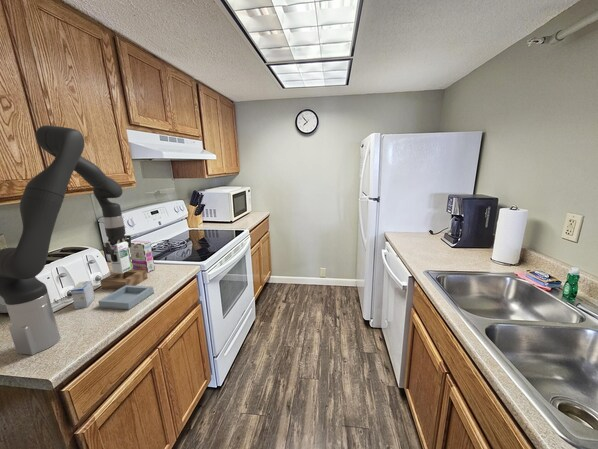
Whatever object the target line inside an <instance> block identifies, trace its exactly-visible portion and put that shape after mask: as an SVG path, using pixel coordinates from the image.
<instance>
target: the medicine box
mask: <svg viewBox="0 0 598 449" xmlns="http://www.w3.org/2000/svg"><path fill="white" fill-rule="evenodd" d="M70 292H71V296H72V297H71V298H72V302H73V306H74V309H75V310H78V309H80V310H81V309H85V308H88V307H89V306H90V305H91V304H92V303H93V301H94V300H95V298H96V297H95V292H94V286H93V282H92V280H88V281H86V280H85V281H80V282H78V283H77V284H76V285H75V286H74V287H73V288H72V289H71V290H70Z"/></svg>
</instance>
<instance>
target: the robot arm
mask: <svg viewBox="0 0 598 449" xmlns="http://www.w3.org/2000/svg"><path fill="white" fill-rule="evenodd" d="M35 139H36V141H37V142H36V143H37V144H38V145H39V147H41V149H43V150H44V151H45V152H46V153H48V154H49V155H51V156H53V157H54V159H53V160H52V161H51V163H50V164H49V165H48V166H47V167H46V168H44V169H43V170H42V171H40V172H39V173H38V174H36V175H35V176H34V177H33V178H31V180H29V181H28V182H27V184H26V186H25V188H24V190H23V193H22V195H21V198H20V202H19V213H20V218H21V222H22V233H21V235H20V238H19V240H18V244H17V246H16V247H4V248H1V249H0V297H1V298H2V299H3V301H4V304H5V307H6V311H7V313H8V317H9V318H10V323H11V325H9V327H8V330H9V333H10V337H11V339H12V342H13V345H14V348H15V351H16V354H18V355H19V354H21V355H29V356H33V355H35V354H37V353H40V352H43V351H45V350H47V349H49V348H50V347H53V346H54V345H55V344H57V343H58V342H59V341H60V340H61V335H60V331H59V328H58V324H57V320H56V316H55V313H54V310H53V305H52V303H51V299H50V294H49V292H48V288H47V285H46V284H45V283H44V282H43V281H41V280H39V279H38V278H37V277H36V276H38V275H39V274H41V272H43V270H44V268H45V267H46V263H47V261H48V255H49V251H50V245H51V240H52V235H53V232H54V228H55V226H56V222H57V218H58V216H59V213H60V210H61V208H62V205H63V202H64V199H65V195H66V192H67V190H68V186H69V184H70V180H71V178H72V175H73V173H74V172H75V173H77V174H78V175H79V176H80V177H81V178H82V179H83V180H84V181H85V182H86V183H87V184H88V185H89V186H91V187H92V191H93V192H92V193H93V194H94V197H95V198H96V200H97V203H98V204H99V206H100V208H101V211H102V216H103V225H104V230H105V236H106V237H107V239H108V240H107V241H105V242H102V243H101V245H102V248H103V250H104V253H105V255H109V256H110V255H111V260H112V261H113V262H117V261H118V260H117V255H116V247H115V248H111V246H110V245H112V246H113V245H115V244H119V243H121V242H125V241H126V242H127V243H128V248H129V247H131V242H132V236H131V235H130V234H129V235H126V234H127V233H126V228H125V227H126V226H125V223H124V218H123V214H122V209H121V205H120V204H119V203H117V202H112V201H110V200H109V199H117V198H120V197H121V196H122V195H123V188H122V185H120V184H119V183H118V182H117V181H116V180H114V179H112V178H111V177H109V176H108V175H106V174H105V173H104V172H103V170H102V169H101V168H100V167H99V166H97V165H96V164H95V163H93V162H91V161H89V160H88V159H86V158H85V157H83V156H82V154H83V151H84V148H85V138H84V135H83V134H82V132H81V131H79V130H78V129H75V128H70V127H65V126H59V125H58V126H57V125H42V126H40V127H38V128H37V129H36V132H35ZM112 249H113V251H112ZM111 260H110V261H111Z"/></svg>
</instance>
